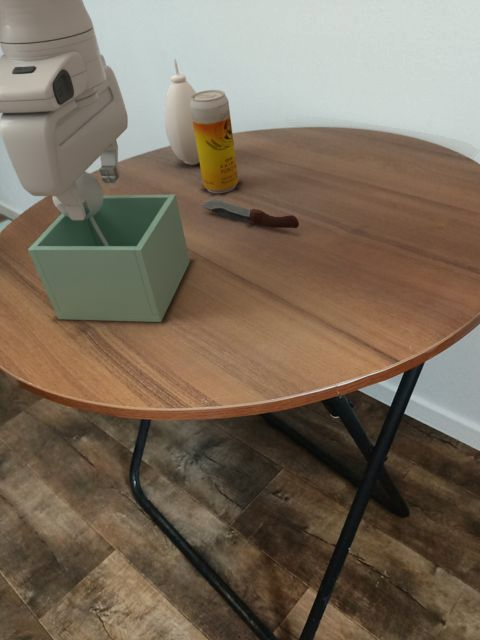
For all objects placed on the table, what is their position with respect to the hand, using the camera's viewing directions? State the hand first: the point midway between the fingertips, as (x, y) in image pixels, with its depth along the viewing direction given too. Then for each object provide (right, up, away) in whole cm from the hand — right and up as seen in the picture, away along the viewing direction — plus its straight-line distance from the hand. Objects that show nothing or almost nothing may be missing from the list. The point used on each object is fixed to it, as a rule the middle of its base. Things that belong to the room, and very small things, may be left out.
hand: (97, 198), depth 61 cm
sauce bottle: (+6, +18, +40) cm, 44 cm away
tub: (+1, -10, +8) cm, 13 cm away
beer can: (+12, +11, +30) cm, 34 cm away
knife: (+17, +2, +19) cm, 26 cm away
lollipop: (+2, -9, +8) cm, 12 cm away
